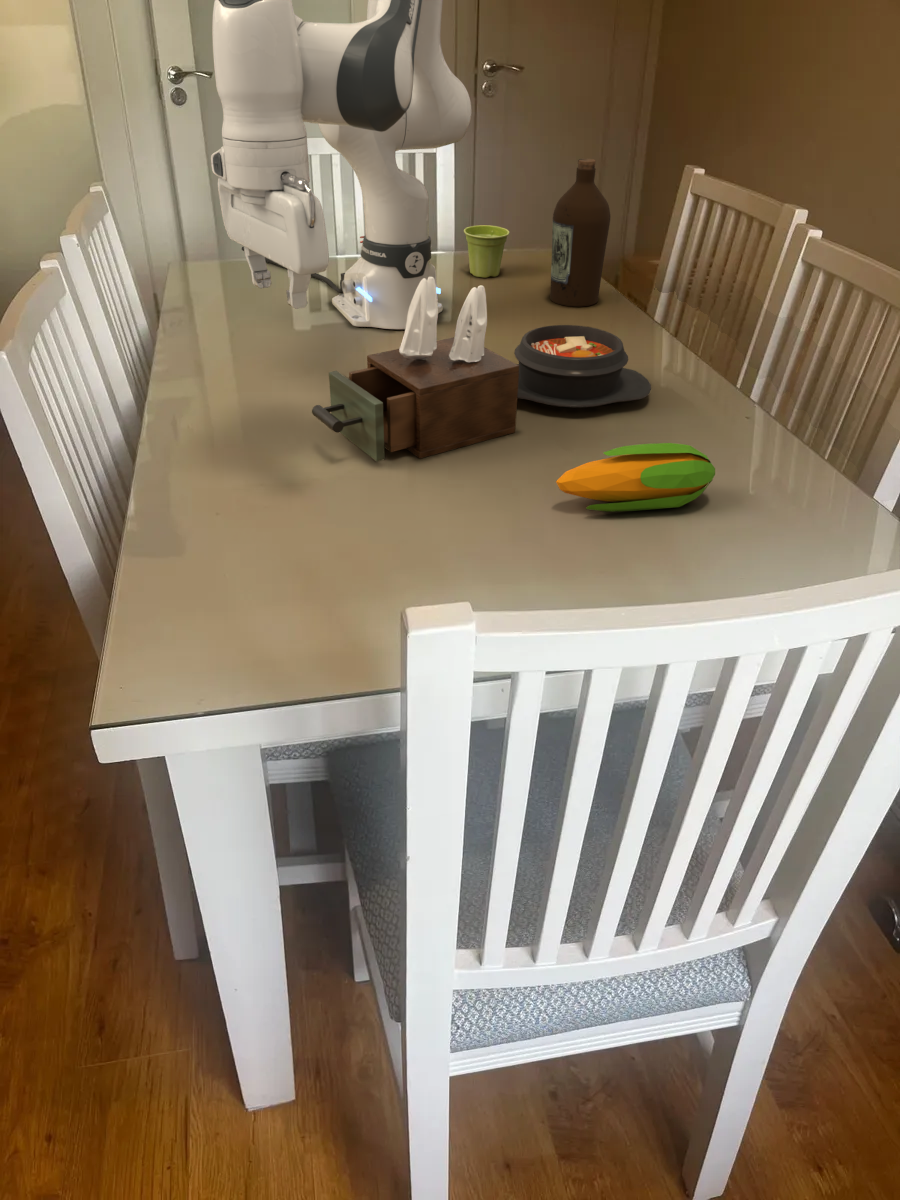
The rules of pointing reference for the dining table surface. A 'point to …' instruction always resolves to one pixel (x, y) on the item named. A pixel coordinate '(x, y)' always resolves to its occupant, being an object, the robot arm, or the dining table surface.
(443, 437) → the cabinet
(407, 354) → the shaker set
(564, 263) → the olive oil
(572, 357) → the casserole
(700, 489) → the corn
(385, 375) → the drawer
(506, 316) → the dining table surface
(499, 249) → the plant pot
